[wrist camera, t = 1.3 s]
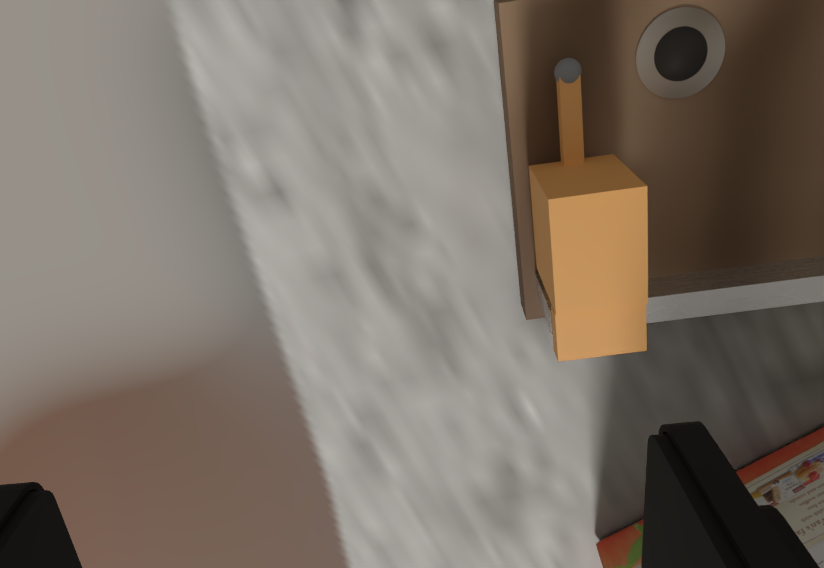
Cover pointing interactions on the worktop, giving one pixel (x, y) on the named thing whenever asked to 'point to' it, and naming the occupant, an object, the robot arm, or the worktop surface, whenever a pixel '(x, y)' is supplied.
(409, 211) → the worktop surface
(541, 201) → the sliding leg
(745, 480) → the cracker box
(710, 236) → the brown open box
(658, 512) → the robot arm
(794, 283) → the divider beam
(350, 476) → the worktop surface
